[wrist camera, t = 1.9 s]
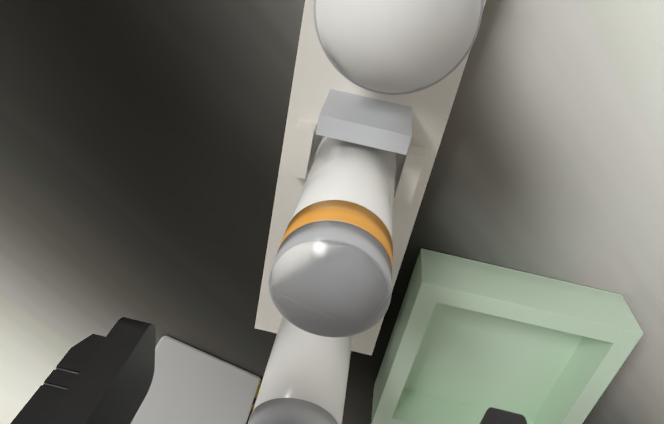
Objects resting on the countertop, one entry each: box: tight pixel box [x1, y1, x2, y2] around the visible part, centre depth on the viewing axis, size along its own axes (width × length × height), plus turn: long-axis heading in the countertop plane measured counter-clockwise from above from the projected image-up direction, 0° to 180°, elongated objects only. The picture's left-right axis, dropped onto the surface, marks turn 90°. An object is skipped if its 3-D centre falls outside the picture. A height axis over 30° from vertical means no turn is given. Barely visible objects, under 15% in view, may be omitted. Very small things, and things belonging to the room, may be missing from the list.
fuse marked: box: [268, 136, 397, 337], centre depth 20 cm, size 4×4×10 cm
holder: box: [255, 0, 486, 356], centre depth 23 cm, size 7×24×5 cm, turn 169°
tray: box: [371, 248, 643, 424], centre depth 29 cm, size 11×11×3 cm
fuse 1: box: [248, 316, 353, 424], centre depth 24 cm, size 4×4×10 cm
